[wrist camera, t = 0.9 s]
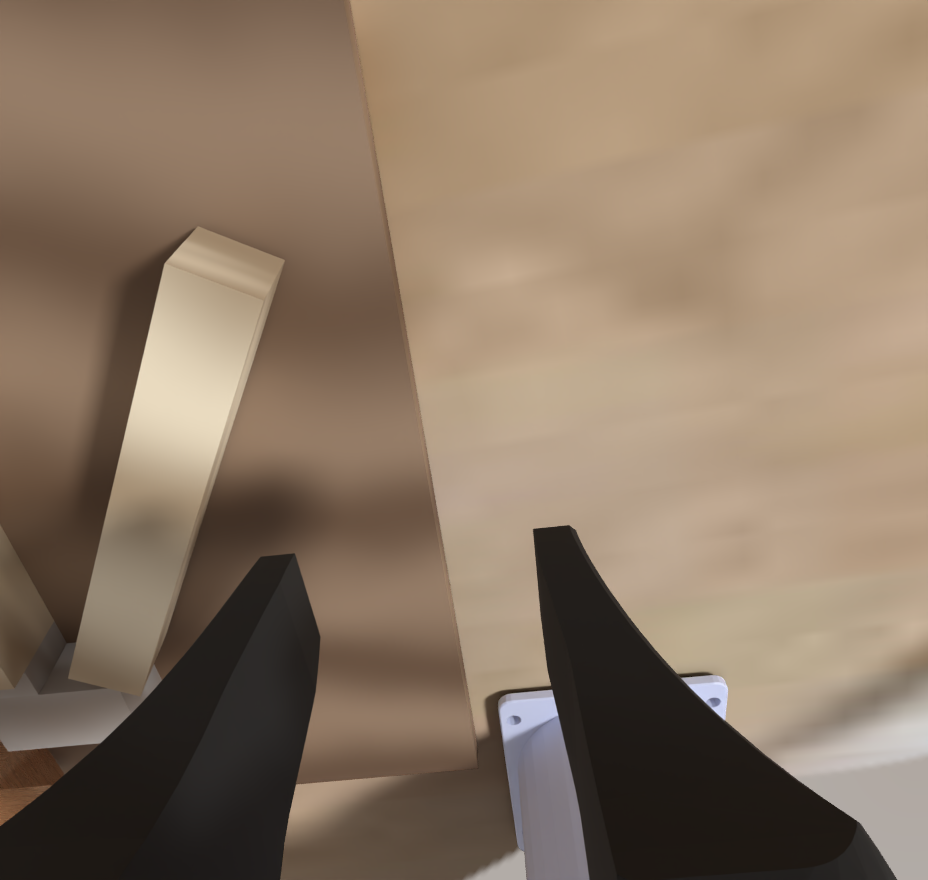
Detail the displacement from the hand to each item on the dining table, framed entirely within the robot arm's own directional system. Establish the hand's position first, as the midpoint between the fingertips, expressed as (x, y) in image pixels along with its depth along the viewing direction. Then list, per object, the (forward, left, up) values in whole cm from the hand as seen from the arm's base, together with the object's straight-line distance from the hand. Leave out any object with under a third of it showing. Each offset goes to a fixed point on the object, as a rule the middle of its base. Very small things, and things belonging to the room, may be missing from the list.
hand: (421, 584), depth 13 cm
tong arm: (-1, +7, -7) cm, 10 cm away
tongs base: (-3, +9, -8) cm, 13 cm away
